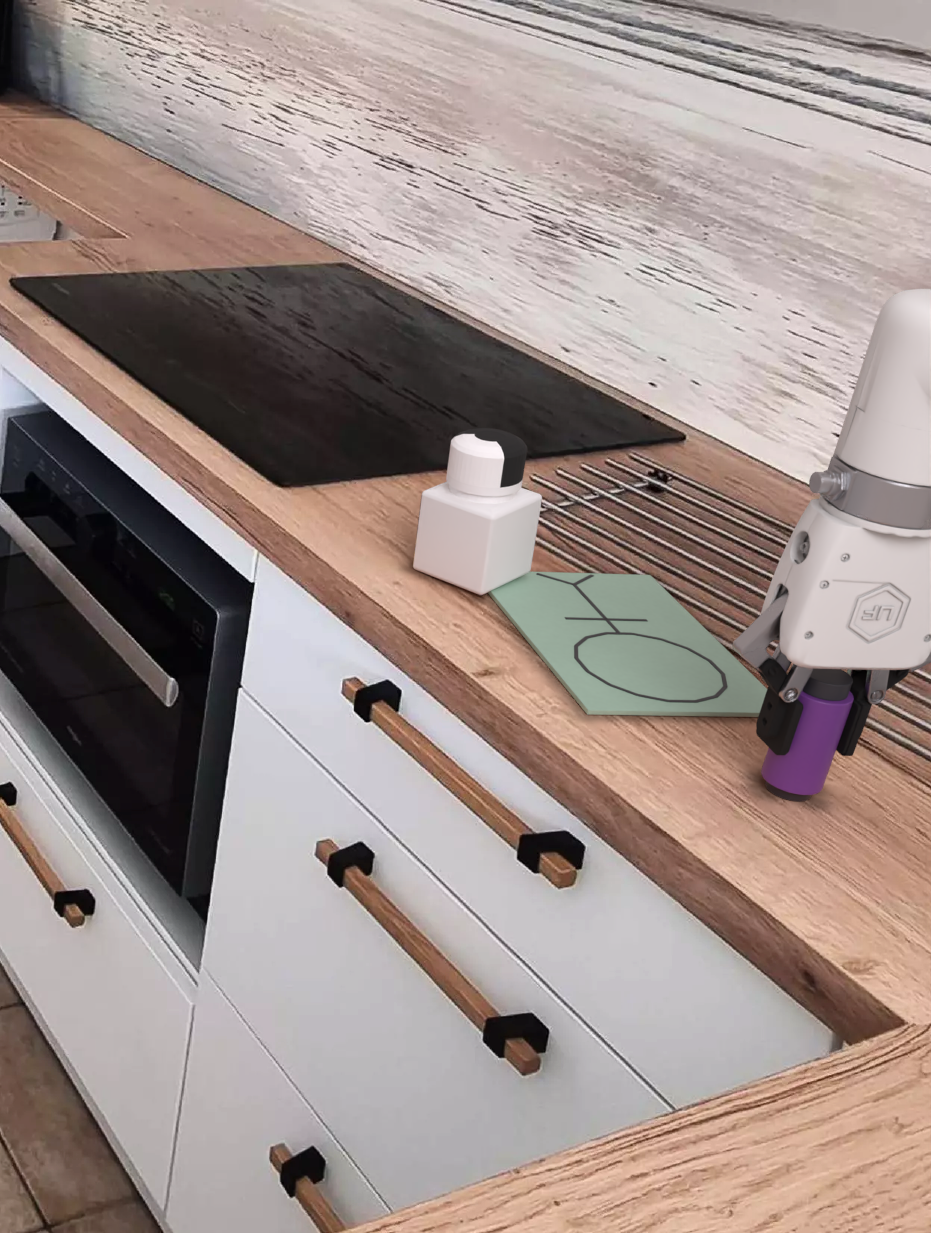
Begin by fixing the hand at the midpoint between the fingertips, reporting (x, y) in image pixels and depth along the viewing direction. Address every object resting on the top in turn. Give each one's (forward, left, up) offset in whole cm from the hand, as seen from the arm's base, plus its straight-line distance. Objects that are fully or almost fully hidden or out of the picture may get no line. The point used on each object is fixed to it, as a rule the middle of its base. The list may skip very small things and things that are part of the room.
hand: (803, 743), depth 118 cm
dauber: (0, 0, -4) cm, 4 cm away
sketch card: (+13, -18, -4) cm, 23 cm away
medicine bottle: (+26, -24, -3) cm, 36 cm away
